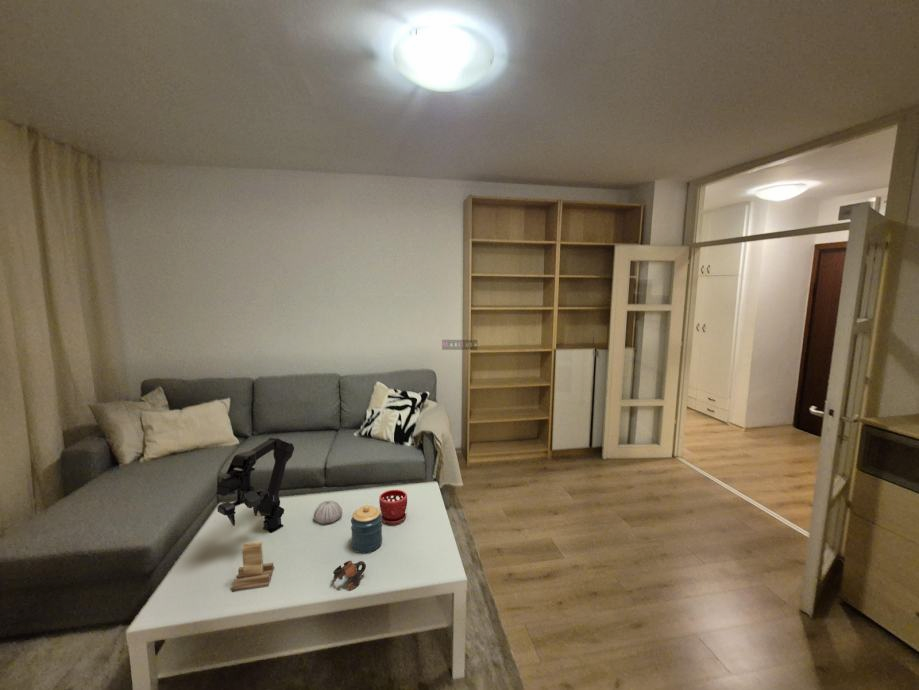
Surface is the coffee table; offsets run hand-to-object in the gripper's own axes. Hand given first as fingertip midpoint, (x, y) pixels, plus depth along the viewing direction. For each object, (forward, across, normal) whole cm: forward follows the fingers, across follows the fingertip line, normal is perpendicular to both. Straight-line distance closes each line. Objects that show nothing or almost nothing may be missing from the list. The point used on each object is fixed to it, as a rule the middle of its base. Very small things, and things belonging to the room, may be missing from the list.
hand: (244, 520), depth 165 cm
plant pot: (+12, +51, -37) cm, 64 cm away
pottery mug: (+14, +11, -50) cm, 53 cm away
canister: (+13, +30, -40) cm, 52 cm away
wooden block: (+12, -8, -19) cm, 24 cm away
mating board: (+13, -8, -19) cm, 25 cm away
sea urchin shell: (+12, +35, -10) cm, 38 cm away
